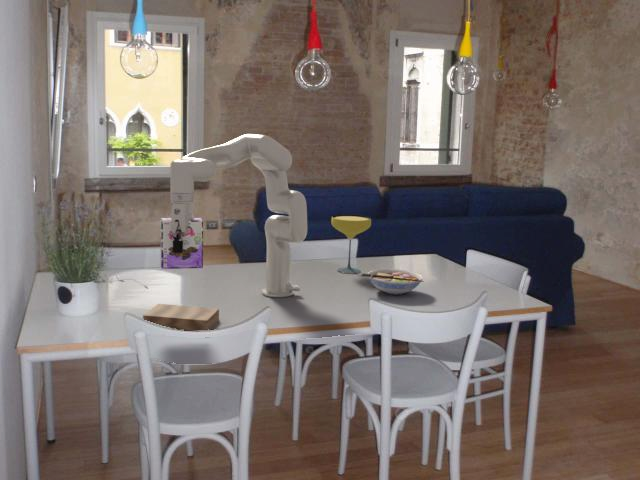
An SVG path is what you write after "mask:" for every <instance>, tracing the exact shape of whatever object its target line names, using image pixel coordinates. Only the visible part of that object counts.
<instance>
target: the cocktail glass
mask: <svg viewBox="0 0 640 480" xmlns="http://www.w3.org/2000/svg"><path fill="white" fill-rule="evenodd" d="M330 222H331V226H332V227H333V228H334V229H335V230H337V231H338V232H340V233H342V234H344V235H345V237H347V239H348V240H349V244H348V261H347V266H346V267H341V268H340V267H339V268H337V269H338V271H340V272H344V273H343V274H345V273H356V274H359V273H358V272H360V273H361V270H360V269H359V268H355V267H352V266H351V246H352V245H351V244H352V240H353V239H354V238H355V237H356V236H357V235H359V234H361V233H364V232H365V231H367V230H369V229H370V228H371V226H372V218H371V217H369V216H366V215H362V214H347V213H345V214H334V215H333V216H331V220H330ZM338 271H337V272H338ZM340 272H339V273H340Z"/></svg>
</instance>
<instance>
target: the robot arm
mask: <svg viewBox="0 0 640 480" xmlns="http://www.w3.org/2000/svg"><path fill="white" fill-rule="evenodd" d="M249 159H250V162H251V163H252V165H253V166H254V167H255V168H257V169H258V170H259V171H260V172H261V174H262V175H263V178H264V180H265V181H264V183H265V192H266V193H265V194H266V205H267V209H268V210H269V211H271V212H273V213H276V214H274V215H270V216H269V217H268V218H267V219H266V220H265V224H264V233H265V240H266V262H265V263H266V265H265V267H266V268H265V287H264V288H262V289H261V294H262V295H263V296H265V297H270V298H286V297H291V296H293V294H294V292H300V291H301V286H299V285H293V284H292V281H291V259H292V257H291V256H292V254H291V253H292V251H291V246H290V244H289V242H290V243H302V242H303V241H304V240H305V239H306V238H307V234H308V210H307V209H308V208H307V199H306V197H305V195H304V194H303V193H302V192H301V191H298V190H293V189H290V188H289V185H288V175H287V171H288V170H289V169H290V168H291V167H292V164H293V156H292V154H291V152H290V150H289V149H287V148H286V147H285V146H283V145H282V144H281V143H280V142H278V141H277V140H276V139H274V138H272V137H271V136H268V135H267V134H266V135H265V134H258V133H257V134H255V133H246V134H243V135H240V136H238V137H235V138H233V139H232V140H229V141H228V142H226V143H223V144H220V145H215V146H212V147H207V148H203V149H200V150H199V149H198V150H196V151H193V152H190V153H189V154H187V155H184V156H182V157H181V158H180V159H175V160H171V162H170V169H169V170H170V173H169V174H170V178H169V183H170V203H171V204H172V205H171V217H170V218H171V227H172V234H173V252H174V253H182V252H183V241H182V236H183V232H184V233H187V232H188V221H189V220H190V219H192V218H195V216H194V202H195V201H194V194H195V193H194V189H195V186H194V184H195V183H194V182H203V183H205V182H210V181H211V180H213V179H214V178H215V176H216V175H217V170H219V169H222V170H224V169H229V168H233V167H235V166H237V165H239V164H241V163H243V162H245V161H247V160H249ZM279 214H283V215H279ZM287 215H288V216H287ZM178 229H179V230H181V231H177V230H178ZM179 234H180V237H179Z"/></svg>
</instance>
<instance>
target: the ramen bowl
mask: <svg viewBox="0 0 640 480" xmlns="http://www.w3.org/2000/svg"><path fill="white" fill-rule="evenodd" d="M360 276H361V277H367V278H368V279H369V281H370V283H371V284H372V285H373V286H374V287H375V288H377V289H378V290H380V291H381V292H384V293H386V294H388V295H392V294H395V296H398V294H400V295H403V294H405V293H408V292H411V291H413V290H415V289H416V288H417V287H418V286H419V285H420V284H421V283H422V282H424V280H423V279H424V278H423V275H422V274H420V273H418V272H415V271H411V270H406V269H399V268H397V269H395V268H379V269H374V270H373V269H372V270H371V271H368V272H367V273H362V274H361V275H360Z"/></svg>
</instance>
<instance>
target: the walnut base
mask: <svg viewBox="0 0 640 480" xmlns="http://www.w3.org/2000/svg"><path fill="white" fill-rule="evenodd" d="M219 317H220V308H216V307H215V308H213V307H202V306H191V305H179V304H178V305H177V304H166V303H165V304H164V303H158V304H156V305H155V306H154V307H152V308H151V309H149V310H148V311H147V312H145V313H144V314H143V316H142V319H144V320H147V321H150V322H153V323H156V324H159V325H162V326H166V327H170V328H176V329H184V330H183V331H187V330H208V329H210V330H211V329H212V327H214V325H215V324H216V323H218V322H219V321H220V318H219Z"/></svg>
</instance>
